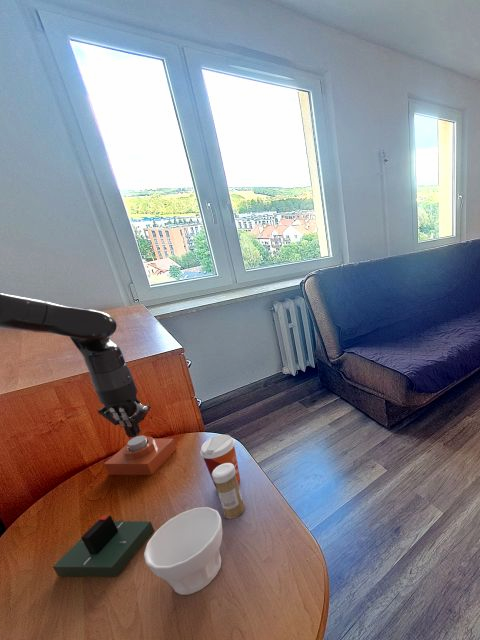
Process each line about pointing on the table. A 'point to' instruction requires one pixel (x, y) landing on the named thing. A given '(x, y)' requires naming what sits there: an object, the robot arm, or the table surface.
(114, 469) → the domed button plate
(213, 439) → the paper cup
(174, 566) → the cup
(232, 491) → the sprinkles bottle
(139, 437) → the grey push button
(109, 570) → the dial panel
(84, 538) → the dial knob
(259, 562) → the table surface
